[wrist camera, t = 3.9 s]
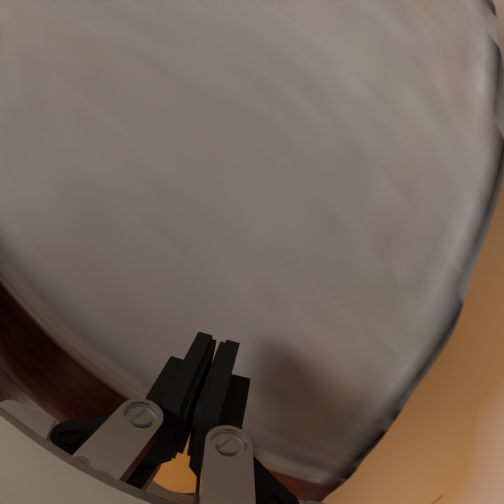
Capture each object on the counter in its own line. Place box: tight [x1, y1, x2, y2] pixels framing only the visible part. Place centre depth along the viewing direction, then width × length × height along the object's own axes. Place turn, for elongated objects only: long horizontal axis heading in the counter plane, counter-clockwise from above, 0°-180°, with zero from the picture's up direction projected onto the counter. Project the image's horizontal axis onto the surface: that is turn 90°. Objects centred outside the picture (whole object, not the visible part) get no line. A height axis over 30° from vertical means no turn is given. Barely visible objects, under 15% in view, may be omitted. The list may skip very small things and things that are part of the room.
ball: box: [153, 436, 196, 493], centre depth 14 cm, size 6×6×6 cm
